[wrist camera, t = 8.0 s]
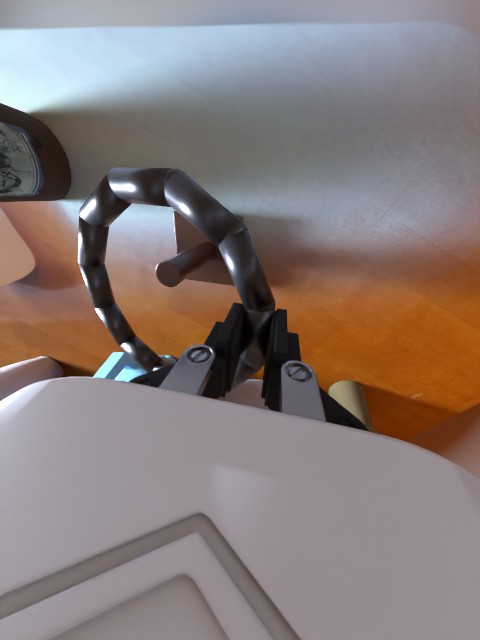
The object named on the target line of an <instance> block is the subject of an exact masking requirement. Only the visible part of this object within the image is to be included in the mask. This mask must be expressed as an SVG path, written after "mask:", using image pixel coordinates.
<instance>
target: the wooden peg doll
mask: <svg viewBox="0 0 480 640" xmlns="http://www.w3.org/2000/svg"><path fill="white" fill-rule="evenodd" d="M328 393H329V395H330V396H331V397H332V398H333V399H335V400H336V401H337V402H338V403H339V404H341V405H342V406H343V407H344V408H346V409H347V410H348V411H349V412H351V413H352V414H353V415H354V416H355V417H357V418H358V419H359V420H360V421H361V422H362V423H363V424H364V425H365V426H366V427H367V429H368V430H369V432H372V433H375V430H374V429H373V426H372V421H371V417H370V413H369V409H368V405H367V401H366V397H365V393H364V389H363V387H362V386H361V385H360V384H358V383H356V382H354V381H340V382H337V383H335V384H333V385H332V386H331V387H330V388H329V391H328Z"/></svg>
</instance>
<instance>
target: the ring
mask: <svg viewBox="0 0 480 640" xmlns="http://www.w3.org/2000/svg"><path fill="white" fill-rule="evenodd" d="M132 203H137V204H147V205H157V206H167V207H172V208H173V209H175V210H176V211H177V212H178V213H179V214H180V215H182V216H183V217H184V218H185V219H186V220H187V221H188V222H190V223H191V224H192V225H193V226H194V227H195V228H197V229H198V230H199V231H200V232H201V233H202V234H203V235H205V236H206V237H207V238H208V239H209V240H210V241H212V242H213V243H214V244H215V245H216V246H217V247H218V248H219V249H220V252H221V254H222V256H223V259H224V261H225V263H226V266H227V268H228V270H229V272H230V275H231V277H232V279H233V282H234V284H235V286H236V289H237V291H238V293H239V295H240V298H241V300H242V302H243V305H244V307H245V314H244V326H243V338H242V349H241V355H240V359H239V362H238V366H237V370H236V373H235V377H234V380H233V384H232V387H231V391H230V392H228V391H226V394H229V393H231V392H233V391H234V390H235V389H236V388H238V387H239V386H240V385H241V384H242V383H244V382H245V381H246V380H247V379H249V378H250V377H251V376H252V375H253V374H255V373H256V372H257V371H258V370H260V369H261V368H262V367H263V366H264V364H265V358H266V352H267V346H268V340H269V334H270V328H271V322H272V316H273V314H274V311H275V300H274V297H273V294H272V292H271V289H270V287H269V284H268V281H267V279H266V276H265V274H264V271H263V269H262V266H261V263H260V261H259V258H258V256H257V253H256V250H255V248H254V245H253V243H252V240H251V237H250V235H249V232H248V230H247V228H246V226H245V225H244V224H243V223H242V222H241V221H240V220H239V219H238V218H237V217H235V216H234V215H233V214H232V213H231V212H230V211H228V210H227V209H226V208H225V207H224V206H223V205H221V204H220V203H219V202H218V201H217V200H216V199H214V198H213V197H212V196H211V195H210V194H209V193H207V192H206V191H205V190H204V189H203V188H202V187H200V186H199V185H198V184H197V183H196V182H195V181H193V180H192V179H191V178H190V177H189V176H188V175H186V174H185V173H184V172H183V171H181V170H178V169H174V168H122V167H117V168H113V169H111V170H110V171H109V172H108V173H107V174H106V176H105V177H104V178H103V180H102V181H101V182H100V183H99V185H98V186H97V187H96V189H95V190H94V191H93V193H92V194H91V195H90V196H89V198H88V199H87V200H86V202H85V203H84V204H83V205H82V207H81V208H80V211H79V241H78V263H79V266H80V269H81V272H82V275H83V278H84V280H85V283H86V286H87V289H88V292H89V295H90V298H91V301H92V304H93V307H94V309H95V311H96V312H97V314H98V315H99V317H100V318H101V320H102V321H103V323H104V324H105V326H106V327H107V329H108V330H109V332H110V333H111V335H112V336H113V338H114V339H115V341H116V342H117V344H118V345H119V347H120V348H121V349H122V350H123V351H125V352H126V353H127V354H128V355H129V356H130V357H131V358H132V359H133V360H134V361H135V362H137V363H138V364H139V365H140V366H141V367H142V368H143V369H144V370H145V371H146V372H151V371H154V370H157V369H159V368H162V367H165V366H168V365H171V364H170V363H168V362H166V361H164V360H163V359H161V358H160V357H159V356H158V355H157V354H156V353H155V352H154V351H153V350H151V349H150V348H149V347H148V346H147V345H146V344H145V343H144V342H143V341H142V340H140V339H139V338H138V337H137V336H136V334H135V333H134V331H133V330H132V328H131V326H130V325H129V323H128V322H127V320H126V318H125V317H124V315H123V314H122V312H121V310H120V309H119V307H118V306H117V304H116V302H115V299H114V296H113V292H112V288H111V285H110V281H109V278H108V274H107V270H106V267H105V263H104V262H105V254H106V246H107V239H108V231H109V225H110V224H111V223H112V222H113V221H114V220H115V219H116V218H117V217H118V216H119V215H120V214H121V213H122V212H123V211H124V210H125V209H127V208H128V207H129V206H130V205H131V204H132Z"/></svg>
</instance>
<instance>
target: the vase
mask: <svg viewBox="0 0 480 640" xmlns="http://www.w3.org/2000/svg"><path fill="white" fill-rule="evenodd" d="M63 373H64V372H63V370H62V367H61V366H60V365H59V364H58V363H57V362H56V361H54V360H52V359H50V358H48V357H38V358H35V359H30V360H26V361H23V362H19V363H15V364H12V365H9V366H6V367H2V368H0V401H2V400H3V399H5V398H7V397H8V396H10V395H12V394H14V393H15V392H17V391H19V390H21V389H23V388H25V387H27V386H29V385H31V384H34V383H37V382H40V381H44V380H49V379H55V378H61V376H62V375H63Z"/></svg>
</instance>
